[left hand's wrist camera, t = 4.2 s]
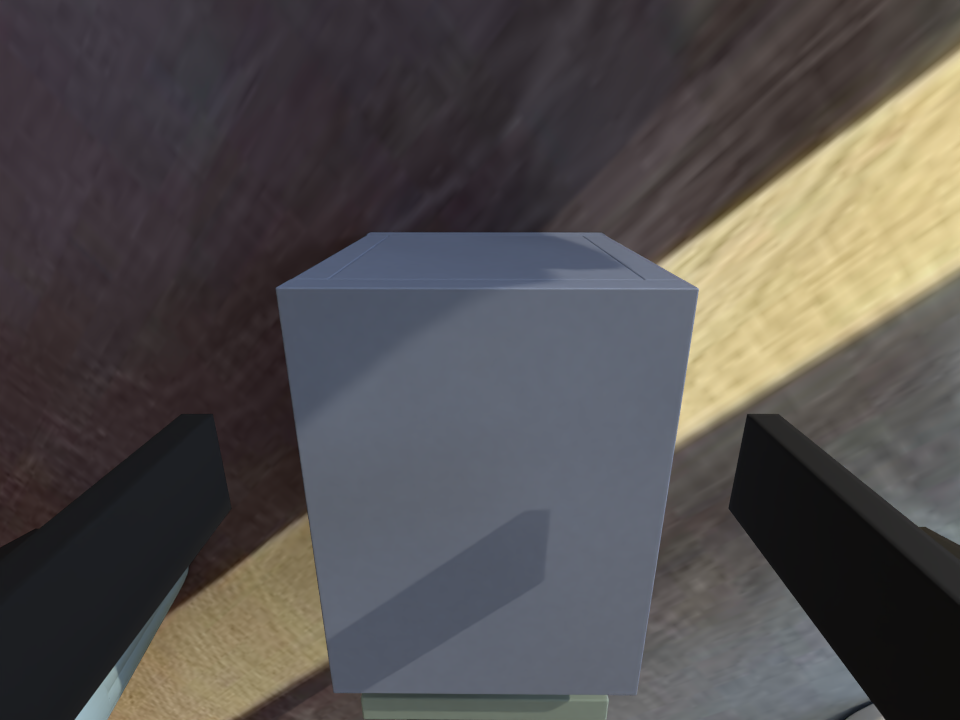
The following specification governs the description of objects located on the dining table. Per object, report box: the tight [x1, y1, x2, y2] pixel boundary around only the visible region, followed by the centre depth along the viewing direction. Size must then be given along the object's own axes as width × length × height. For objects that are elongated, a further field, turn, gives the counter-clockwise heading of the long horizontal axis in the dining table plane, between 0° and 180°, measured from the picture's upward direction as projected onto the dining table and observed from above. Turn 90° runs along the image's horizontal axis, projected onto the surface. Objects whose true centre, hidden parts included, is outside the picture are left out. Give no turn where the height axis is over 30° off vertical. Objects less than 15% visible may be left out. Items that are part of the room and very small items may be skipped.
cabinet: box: [276, 232, 699, 695], centre depth 21 cm, size 15×11×12 cm
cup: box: [75, 568, 189, 720], centre depth 26 cm, size 8×8×10 cm
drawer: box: [361, 693, 609, 720], centre depth 23 cm, size 19×10×10 cm, turn 0°
